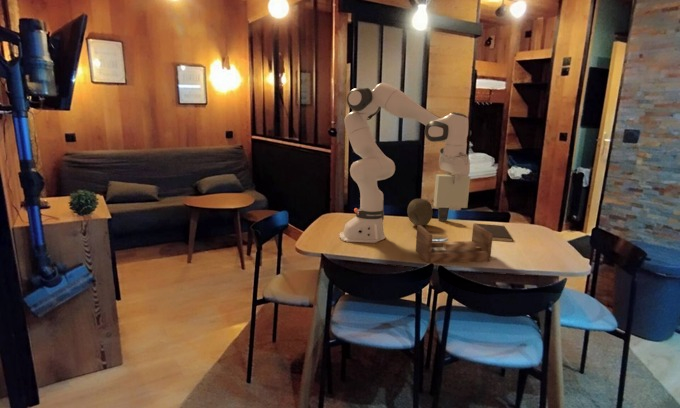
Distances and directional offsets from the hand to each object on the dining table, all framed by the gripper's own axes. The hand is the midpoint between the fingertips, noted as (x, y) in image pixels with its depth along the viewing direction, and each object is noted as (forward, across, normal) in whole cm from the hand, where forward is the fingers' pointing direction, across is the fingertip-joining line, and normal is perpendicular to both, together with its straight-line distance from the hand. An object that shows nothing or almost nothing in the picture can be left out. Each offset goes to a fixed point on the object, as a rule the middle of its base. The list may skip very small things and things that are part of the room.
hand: (452, 183), depth 177 cm
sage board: (+11, 0, 0) cm, 11 cm away
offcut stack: (+31, -12, +2) cm, 33 cm away
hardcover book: (+31, +18, -36) cm, 51 cm away
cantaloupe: (+31, +39, -5) cm, 50 cm away
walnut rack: (+30, -8, +2) cm, 31 cm away
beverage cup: (+31, +46, -23) cm, 60 cm away
